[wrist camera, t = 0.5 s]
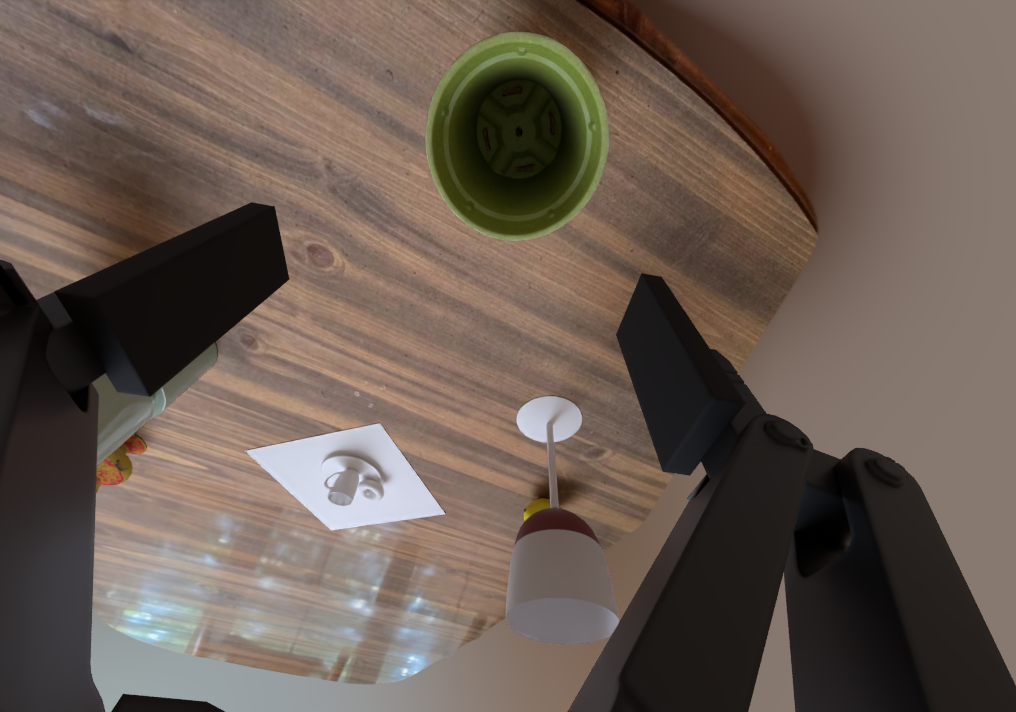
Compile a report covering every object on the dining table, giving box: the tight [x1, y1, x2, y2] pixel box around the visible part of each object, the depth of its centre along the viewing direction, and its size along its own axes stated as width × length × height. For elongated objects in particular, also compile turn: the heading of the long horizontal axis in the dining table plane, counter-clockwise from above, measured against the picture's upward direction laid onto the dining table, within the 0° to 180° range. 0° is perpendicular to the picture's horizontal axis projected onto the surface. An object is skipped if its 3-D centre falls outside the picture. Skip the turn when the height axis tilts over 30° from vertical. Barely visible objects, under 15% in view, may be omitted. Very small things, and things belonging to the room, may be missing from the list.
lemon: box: [524, 498, 562, 521], centre depth 50 cm, size 7×5×5 cm
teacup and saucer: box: [320, 454, 385, 507], centre depth 49 cm, size 9×8×4 cm
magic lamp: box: [96, 434, 147, 493], centre depth 43 cm, size 7×18×11 cm, turn 152°
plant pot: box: [426, 32, 609, 241], centre depth 23 cm, size 9×9×9 cm
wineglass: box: [506, 396, 619, 644], centre depth 35 cm, size 8×9×20 cm
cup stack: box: [92, 343, 217, 466], centre depth 32 cm, size 10×10×16 cm
